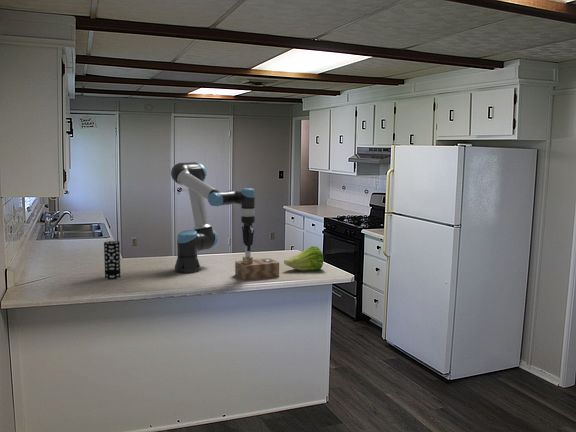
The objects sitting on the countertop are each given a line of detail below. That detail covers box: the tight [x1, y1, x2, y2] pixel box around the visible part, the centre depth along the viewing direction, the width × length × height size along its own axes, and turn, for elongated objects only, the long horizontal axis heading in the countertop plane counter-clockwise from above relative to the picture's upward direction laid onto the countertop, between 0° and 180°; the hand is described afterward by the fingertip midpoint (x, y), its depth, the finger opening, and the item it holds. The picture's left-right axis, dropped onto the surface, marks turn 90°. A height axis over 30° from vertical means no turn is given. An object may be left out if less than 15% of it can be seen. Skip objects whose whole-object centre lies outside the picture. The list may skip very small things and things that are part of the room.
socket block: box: [234, 257, 280, 281], centre depth 310 cm, size 22×13×8 cm, turn 117°
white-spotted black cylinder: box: [103, 240, 122, 280], centre depth 299 cm, size 8×8×20 cm
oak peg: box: [242, 255, 254, 264], centre depth 307 cm, size 4×4×8 cm
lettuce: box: [283, 245, 324, 272], centre depth 325 cm, size 14×24×15 cm
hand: (247, 256), depth 306 cm, fingers closed
